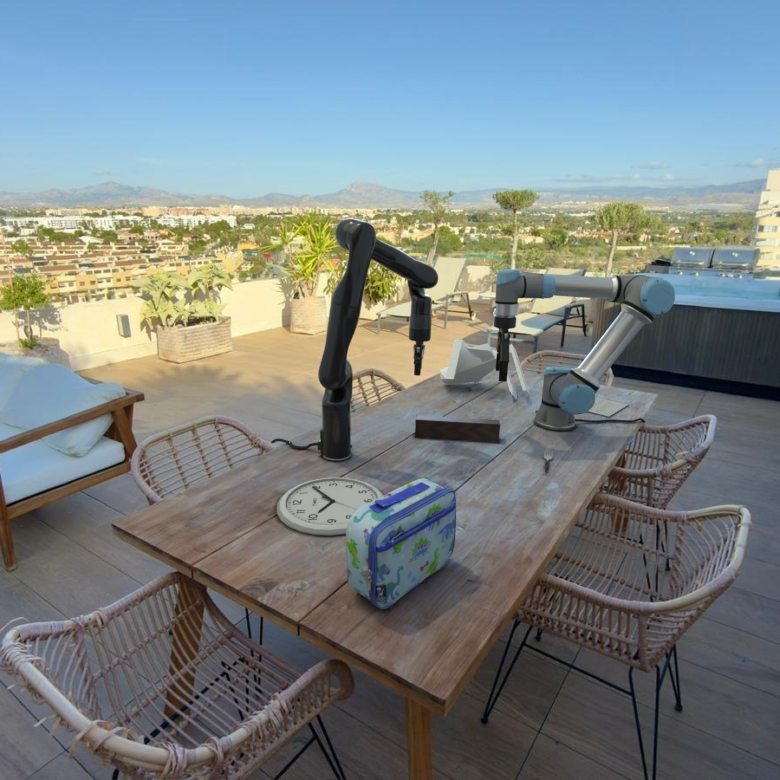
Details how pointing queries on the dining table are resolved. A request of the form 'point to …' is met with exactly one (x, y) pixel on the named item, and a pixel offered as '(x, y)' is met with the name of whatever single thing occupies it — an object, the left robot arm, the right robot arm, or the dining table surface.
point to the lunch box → (400, 540)
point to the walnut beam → (457, 428)
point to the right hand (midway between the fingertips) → (500, 375)
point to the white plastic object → (478, 365)
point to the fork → (547, 459)
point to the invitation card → (606, 407)
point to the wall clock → (324, 504)
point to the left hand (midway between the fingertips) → (417, 371)
